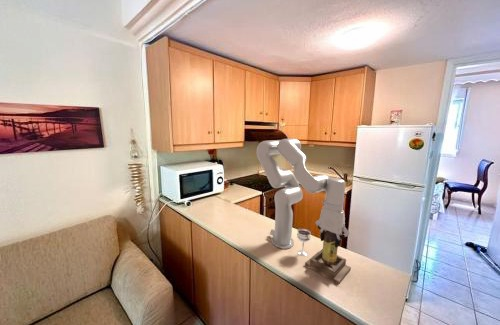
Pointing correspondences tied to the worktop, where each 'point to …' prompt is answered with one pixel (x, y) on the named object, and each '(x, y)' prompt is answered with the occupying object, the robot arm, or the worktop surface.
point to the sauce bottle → (329, 248)
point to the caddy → (329, 267)
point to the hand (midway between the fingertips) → (330, 242)
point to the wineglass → (303, 239)
